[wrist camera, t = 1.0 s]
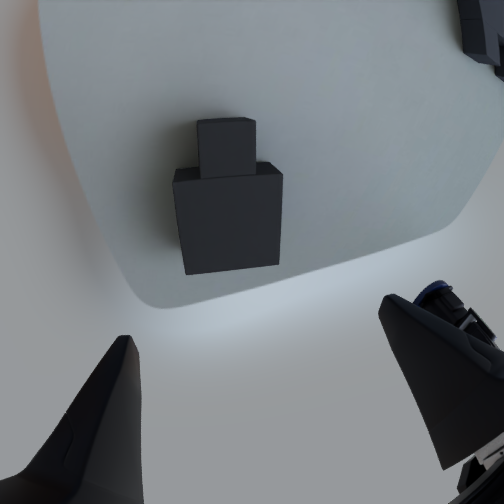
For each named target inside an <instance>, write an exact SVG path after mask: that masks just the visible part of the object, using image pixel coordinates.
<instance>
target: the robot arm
mask: <svg viewBox="0 0 504 504" xmlns="http://www.w3.org/2000/svg"><path fill="white" fill-rule="evenodd" d="M452 290H453V287H452V286H447V287H444V288H441V289H438V290H435V291H431V292H428V293H426V294H425V295H424V297H423V300H422V302H421V304H420V306H419V307H418V306H417V305H415V304H413V303H411V302H409V301H407V300H405V299H403V298H402V297H400V296H397V295H396V294H390V295H386V296H384V298H383V300H382V303H381V306H380V308H379V312H378V315H379V319H380V321H381V324H382V326H383V329H384V331H385V334H386V336H387V339H388V341H389V344H390V347H391V349H392V351H393V353H394V355H395V358H396V360H397V362H398V364H399V366H400V368H401V370H402V372H403V374H404V376H405V378H406V381H407V383H408V385H409V387H410V389H411V391H412V394H413V396H414V398H415V400H416V402H417V405H418V407H419V409H420V412H421V414H422V417H423V419H424V422H425V424H426V427H427V429H428V431H429V434H430V437H431V440H432V442H433V445H434V448H435V450H436V453H437V456H438V458H439V461H440V464H441V467H442V469H443V470H446V469H447V468H449V467H451V466H453V465H455V464H456V463H458V462H460V461H461V460H463V459H465V458H466V457H468V456H470V455H471V454H473V453H474V454H475V455H474V456H473V457H472V458H471V459H469V460H468V461H467V462H466V463H465V464H464V465H463V468H462V472H461V476H460V479H459V482H458V486H457V490H458V492H459V494H460V495H459V496H457V497H456V498H455V499H454V500H452V501H451V502H450V503H448V504H504V352H503V351H501V350H500V349H499V348H498V346H497V345H496V344H495V342H494V341H495V340H496V338H497V337H496V336H495V334H494V333H493V332H492V331H491V329H490V328H489V327H488V326H487V324H486V323H485V322H484V321H483V320H482V319H481V318H480V317H479V315H478V314H477V313H476V312H475V311H474V310H473V309H472V308H469V310H468V311H467V310H466V309H465V308H464V303H463V302H462V301H461V300H460V299H459V298H458V297H457V296H456V295H455V294H454V293H453V292H452ZM476 320H477V322H475V321H476ZM66 413H67V414H66ZM66 413H65V414H64V416H63V417H62V419H61V420H60V422H59V424H58V425H57V426H56V428H55V429H54V431H53V432H52V434H51V435H50V436H49V438H48V439H47V440H46V442H45V443H44V445H43V446H42V447H41V449H40V450H39V451H38V452H37V454H36V455H35V456H34V458H33V459H32V460H31V462H30V463H29V464H28V465H27V467H26V468H25V469H24V470H23V471H21V472H20V473H18V474H17V475H14V476H12V477H9V478H6V479H3V480H0V504H144V503H143V502H144V499H143V485H142V467H141V381H140V362H139V352H138V350H137V347H136V345H135V343H134V341H133V339H132V337H131V336H130V335H121V336H118V337H117V338H116V340H115V341H114V343H113V344H112V345H111V347H110V348H109V350H108V351H107V352H106V354H105V355H104V356H103V358H102V359H101V361H100V362H99V363H98V365H97V367H96V368H95V369H94V371H93V372H92V373H91V375H90V377H89V378H88V379H87V381H86V382H85V384H84V385H83V387H82V388H81V390H80V391H79V393H78V394H77V396H76V397H75V399H74V400H73V402H72V403H71V405H70V406H69V408H68V410H67V411H66Z"/></svg>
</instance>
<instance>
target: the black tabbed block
mask: <svg viewBox="0 0 504 504" xmlns="http://www.w3.org/2000/svg"><path fill="white" fill-rule="evenodd" d="M197 139H198V155H199V167H192V168H183V169H176V171H175V175H174V179H173V182H172V185H173V194H174V202H175V209H176V217H177V224H178V231H179V238H180V244H181V250H182V256H183V262H184V268H185V274H186V275H193V274H202V273H211V272H220V271H229V270H238V269H246V268H255V267H263V266H271V265H279V258H280V237H281V214H282V187H283V174H282V173H281V172H280V171H279V170H278V169H277V168H276V167H274V166H273V165H272V164H271V163H270V162H259V163H256V121H255V120H252V119H249V118H246V117H238V118H218V119H204V120H197Z"/></svg>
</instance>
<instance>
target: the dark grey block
mask: <svg viewBox="0 0 504 504" xmlns="http://www.w3.org/2000/svg"><path fill="white" fill-rule="evenodd" d="M457 2H458V7H459V13H460V19H461V20H460V21H461V29H462V39H463V52H464V54H466V55H468V56H469V57H471V58H472V59H474V60H475V61H477V62H478V63H483V64H490V65H495V73H496V76H497V77H498V78H500V79H501V80H502V81H503V82H504V0H457Z"/></svg>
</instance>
